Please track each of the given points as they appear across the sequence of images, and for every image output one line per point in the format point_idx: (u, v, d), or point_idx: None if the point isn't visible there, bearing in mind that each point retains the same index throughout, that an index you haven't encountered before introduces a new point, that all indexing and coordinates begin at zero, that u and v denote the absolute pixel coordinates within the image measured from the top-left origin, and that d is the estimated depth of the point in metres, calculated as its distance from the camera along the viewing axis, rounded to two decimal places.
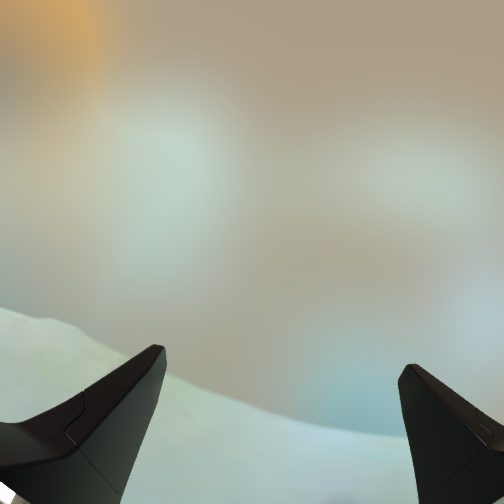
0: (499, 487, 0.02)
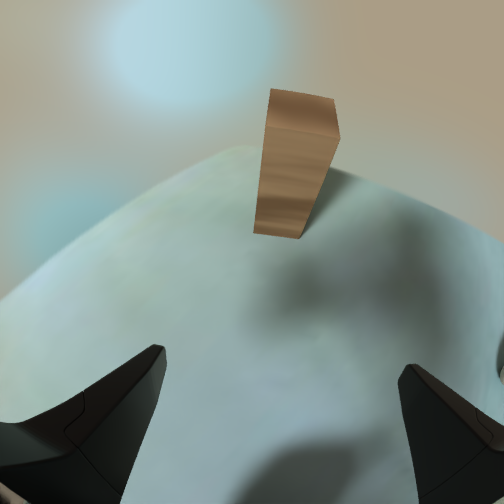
0: (499, 487, 0.02)
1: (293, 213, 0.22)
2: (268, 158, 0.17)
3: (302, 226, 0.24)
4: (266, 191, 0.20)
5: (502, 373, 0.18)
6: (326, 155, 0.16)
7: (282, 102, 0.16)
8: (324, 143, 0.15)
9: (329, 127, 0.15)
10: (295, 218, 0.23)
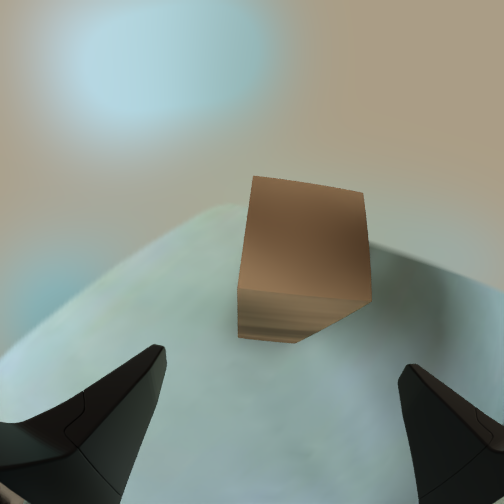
0: (499, 487, 0.02)
1: (287, 335, 0.16)
2: (248, 309, 0.11)
3: (299, 339, 0.18)
4: (250, 324, 0.14)
5: None
6: (342, 311, 0.10)
7: (272, 214, 0.09)
8: (342, 304, 0.09)
9: (355, 273, 0.09)
10: (291, 336, 0.17)
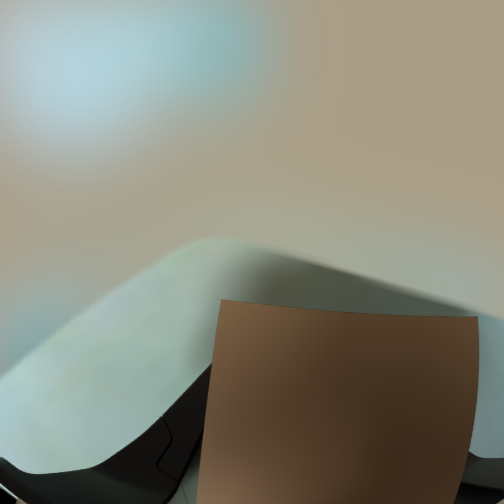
0: None
1: None
2: None
3: None
4: None
5: None
6: None
7: (273, 431, 0.03)
8: None
9: None
10: None
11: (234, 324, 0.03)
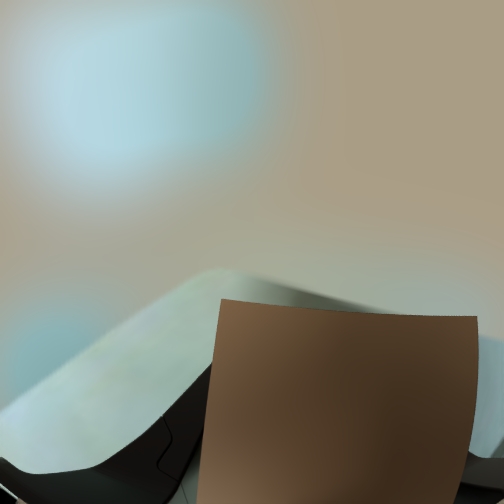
0: None
1: None
2: None
3: None
4: None
5: None
6: None
7: (274, 430, 0.03)
8: None
9: None
10: None
11: (234, 323, 0.03)
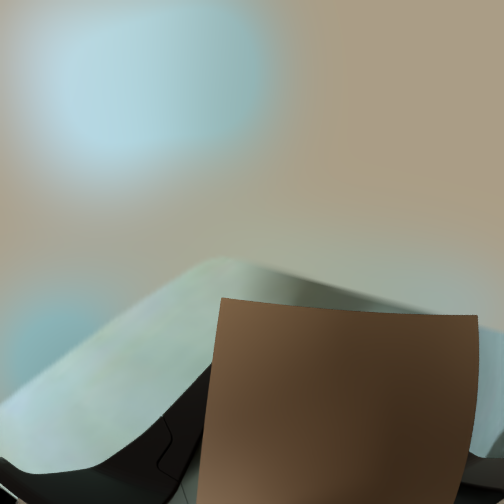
0: None
1: None
2: None
3: None
4: None
5: None
6: None
7: (274, 429, 0.03)
8: None
9: None
10: None
11: (234, 322, 0.03)
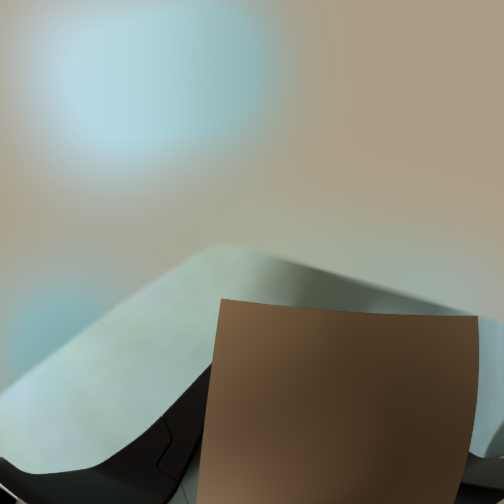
0: None
1: None
2: None
3: None
4: None
5: None
6: None
7: (273, 430, 0.03)
8: None
9: None
10: None
11: (234, 323, 0.03)
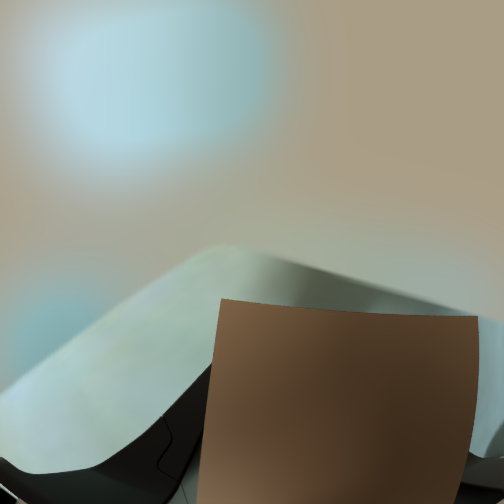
0: None
1: None
2: None
3: None
4: None
5: None
6: None
7: (273, 430, 0.03)
8: None
9: None
10: None
11: (234, 323, 0.03)
